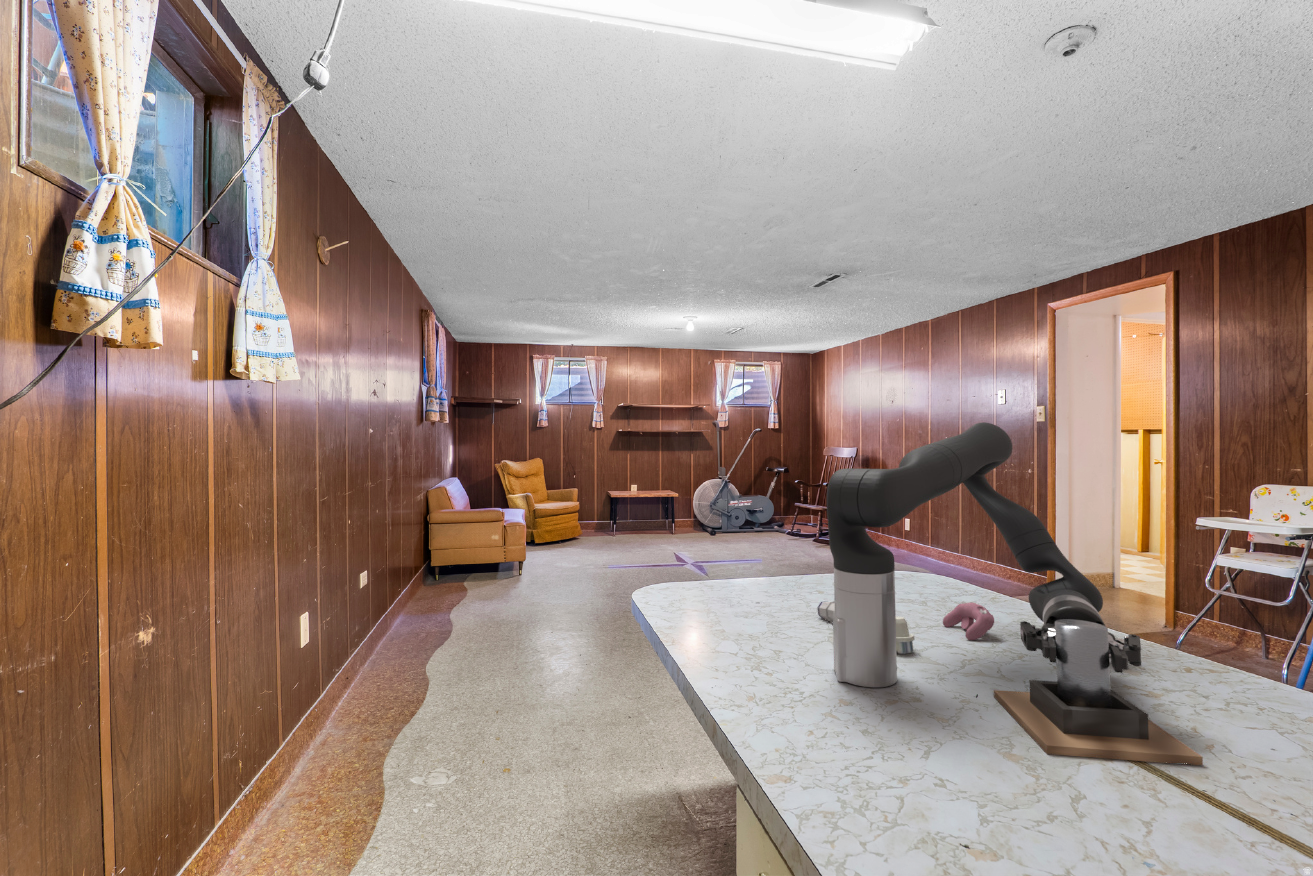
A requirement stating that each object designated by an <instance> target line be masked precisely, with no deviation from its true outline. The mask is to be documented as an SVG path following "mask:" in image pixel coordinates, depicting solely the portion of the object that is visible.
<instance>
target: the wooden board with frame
mask: <svg viewBox="0 0 1313 876" xmlns="http://www.w3.org/2000/svg"><path fill="white" fill-rule="evenodd" d="M993 698H994V699H995V700H996V701H997V702H998V703H999V704H1000V705H1001V706H1002V708H1003V709H1005V710H1006V712H1007V713H1008V714H1009V715H1010V716H1011V717H1012V718H1013V719H1014V720H1015V722H1017V723H1018V724H1019V725H1020V727H1021V728H1022V729H1023V730H1024V731H1025V732H1026V734H1028V735H1029V736H1030V737H1031V739H1033V740H1034V741H1035V743H1036V744H1037V745H1038V746H1039V747H1040V748H1041V749H1042V751H1044V752H1045V754H1046V755H1055V756H1071V757H1084V758H1095V759H1096V758H1097V759H1109V760H1121V761H1122V760H1123V761H1137V762H1149V763H1162V764H1163V763H1164V764H1173V763H1183V764H1182V765H1186V763H1187V764H1191V765H1190V766H1199V765H1203V766H1204V764H1203V763H1204V762H1203V760H1204V758H1203V756H1202V755H1201V754H1199V753H1198V752H1197V751H1195V750H1193V749H1192V748H1191V747H1189V746H1188V745H1186V744H1185V743H1183V742H1182V741H1180V740H1179V739H1178V738H1177V737H1175V736H1173V735H1172V734H1170V733H1169V732H1168V731H1166V730H1165V729H1163V728H1162V727H1160V726H1159V725H1157V724H1156V723H1155V722H1153V721H1152V720H1150V719H1149V714H1148V713H1146V712H1145V711H1144V710H1142V709H1141V708H1139V707H1138V706H1136V704H1133V703H1132V702H1130V701H1129V700H1127V699H1126V698H1125V697H1123V696H1121V695H1120V694H1119V693H1117V692H1116V691H1114V690H1113V689H1112V688H1111V709H1105V708H1089V707H1073V706H1067V705H1066V704H1065V703H1064V702H1062V701H1061V700H1060V699H1059V698H1058V688H1057V680H1056V681H1055V680H1054V681H1053V680H1037V679H1036V680H1035V679H1034V680H1033V679H1030V680H1029V691H1016V690H1015V691H1012V690H1001V689H1000V690H997V689H996V690H995V689H993ZM1166 762H1167V763H1166ZM1184 763H1185V764H1184ZM1192 764H1193V765H1192Z"/></svg>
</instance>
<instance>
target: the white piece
mask: <svg viewBox="0 0 1313 876" xmlns="http://www.w3.org/2000/svg"><path fill="white" fill-rule="evenodd" d="M816 609H817V615H818V617H820V618H821V619H822V620H825V619H826V621H828V620H829V622H830V623H831V622H833V611H834V610H835V605H834V601H828V600H825V601H820V602H819V604H818V605H817V608H816ZM914 640H915V635H914V634H912V633H910V631H909V627H908V622H907V620H906V618H905V617H903V616H897V615H896V652H897V653H898V654H909V653H911V654H912V653H914V643H913V641H914Z"/></svg>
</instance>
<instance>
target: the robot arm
mask: <svg viewBox="0 0 1313 876" xmlns="http://www.w3.org/2000/svg"><path fill="white" fill-rule="evenodd" d="M1012 452H1013V443H1012V440H1011V438H1010V435H1008V433H1007V431H1006V430H1004V429H1003V428H1001V427H1000V426H998V425H996V424H994V423H990V422H978V423H976V424H974V425H972V426H970V427H968V428H967V429H966V430H964V431H963V432H962V433H959V434H957V435H954V436H951V437H947V438H944V439H941V440H937V441H935V442H932V443H928V444H925V445H922V446H919V447H917V448H915V449H913V450H911V451H909V452H908V453H906V454H905V455H904V456H902V458H901V460H900V462H899V465H898V467H897V468H840V469H838V470H836V471H834V472H833V474H832V475H831V477H830V478H829V481H828V484H827V489H826V515H827V517H826V518H827V528H828V530H827V531H828V542H829V549H830V553H831V555H832V559H833V589H834V590H833V591H834V592H833V594H834V595H833V596H834V599H833V600H834V605H835V610H834V611H833V623H832V633H833V635H832V636H833V637H832V638H833V670H834V672H835V675H836V679H837V681H838V682H841V683H849V684H851V685H855V686H859V687H865V688H884V687H885V688H886V687H889V686H892V685H894V684H895V683H897V682H898V664H897V661H898V660H897V651H896V616H897V615H896V579H895V578H896V577H895V576H896V574H895V569H896V568H895V563H896V562H895V556H894V553H893V552H892V551H891V550H890V549H888V548H887V547H885V546H883V545H881V544H879V543H878V542H876V540H873V538H872V537H871V536H870V535H869V534H868V532H867V529H866V527H867V528H887V527H891V526H893V525H895V524H897V523H898V522H900V521H901V520H903V519H904V518H905V517H907V516H908V515H909V514H910V513H912V512H913V511H914V510H915V509H917V508H918V507H919V506H921V505H923V504H925V503H928V502H929V501H931V500H933V499H935V498H937V497H940V496H942V495H944V494H946V493H948V492H950V491H952V490H954V489H956V488H957V487H958V486H960V485H961V484H962V483H963V485H964V486H965V488H966V489H967V490H968V491H969V493H970V495H971V496H972V497H973V498H974V499H975V500H976V501H977V503H978V504H979V505H980V507H981V508H982V509H983V510H984V511H985V513H986V514H987V516H988V518H989V517H990V519H991V521H992V522H993V523H994V525H995V526H996V528H997V529H998V531H999V532H1000V534H1001V535H1002V537H1003V539H1004V540H1005V541H1004V542H1005V543H1006V544H1007V546H1008V548H1009V549H1010V551H1011V553H1012V555H1013V556H1014V558H1015V559H1016V562H1017V563H1018V565H1019V566H1020V568H1021V569H1022V571H1024V572H1026V573H1032V574H1033V573H1039V572H1040V573H1041V572H1047V571H1049V572H1050V571H1051V572H1052V571H1053V572H1057V573H1059V574H1060V575H1061V576H1062V577H1060V578H1057V579H1053V580H1051V581H1048V582H1046V583H1042V584H1039V585H1037V586H1034V588H1032V589H1031V590H1030V592H1029V594H1028V602H1029V606H1030V607H1031V610H1032V612H1033V613H1034V614H1035V615H1036V617H1037V618H1038V619H1039V620H1040V621H1042V626H1041V627H1040V628H1038V627H1036V625H1034V624H1031V623H1030V622H1029V621H1026V620H1025V621H1024V620H1023V621H1020V622H1019V623H1020V640H1021V642H1022V643H1023V645H1024V648H1025V649H1026V650H1027V651H1030V652H1038V651H1037V650H1040V651H1041V653H1042V657H1043V658H1045V659H1049V662H1050V663H1054V664H1056V639H1055V621H1056V620H1063V619H1071V620H1082V621H1088V622H1093V623H1097V624H1101V625H1104V626H1106V624H1105V622H1104V621H1103V618H1102V616H1101V615H1100V611H1102V609H1103V605H1104V599H1103V595H1102V593H1101V591H1100V590H1099V588H1097V587H1096V585H1094V583H1093V582H1092V581H1091V580H1090V579H1089V578H1087V577H1086V575H1085V576H1084V574H1083V573H1082V572H1081V571H1079V570H1078V568H1076V567H1075V566H1074V565H1073V564H1072V563H1071V562H1070V561H1069V560H1068V558H1066V556H1065V555H1064V553H1062V551H1061V549H1060V548H1059V547H1058V545H1057V544H1056V542H1055V541H1054V539H1053V537H1052V536H1051V533H1049V531H1048V530H1047V528H1046V526H1045V525H1044V523H1043V522H1042V521H1041V519H1040V518H1039V517H1038V516H1037V515H1036V514H1034V512H1032V511H1030V509H1027V508H1026V507H1024V506H1022V505H1020V504H1018V503H1017V502H1015V501H1013V500H1011V499H1009V498H1007V497H1005V496H1004V495H1003V494H1001V493H1000V492H998V491H996V489H994V488H993V486H992V485H991V483H989V481H988V480H987V478H986V474H988V473H990V472H992V470H995V469H996V468H997V467H1000V466H1001V465H1002V464H1004V463H1005V462H1006V461H1008V460H1009V458H1010V457H1011V456H1012ZM1108 642H1109V663H1110V664H1111V666H1112V668H1113V670H1114V673H1121V674H1123V670H1126V671H1127V670H1129V665H1130V666H1134V667H1142V654H1141V653H1142V652H1141V651H1142V646H1141V645H1142V644H1141V636H1139V635H1137V634H1132V633H1131V634H1128V636H1124V637H1123V638H1118V637H1116V636H1115V635H1114V634H1113V633H1111V632H1109V631H1108Z"/></svg>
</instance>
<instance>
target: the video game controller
mask: <svg viewBox="0 0 1313 876" xmlns="http://www.w3.org/2000/svg"><path fill="white" fill-rule="evenodd" d="M942 619H943V620H942V624H943V626H944V627H946V628H952V627H955V626H956V625H958V624H960V627H961V629H963V630H965V631H966V632H965V637H966V638H965V639H967V640H968V641H975V640H979V639H981V638H982V637H983V636H984V635H985V634H987V632H988V631H989V630H991V629H992V628H993V626H994V624H995V617H994V615H993V614H991V613H990V610H988V609H987V608H986V607H985V606H983V605H982V604H979V603H976V602H973V601H972V602H966V601H964V600H963V601H962V602H961V603H959V604H957V605H956V606H955V607H954V608H953V609H952V610H951V611H950V612H948V613H947V614H946V615H944V617H943V618H942Z"/></svg>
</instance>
